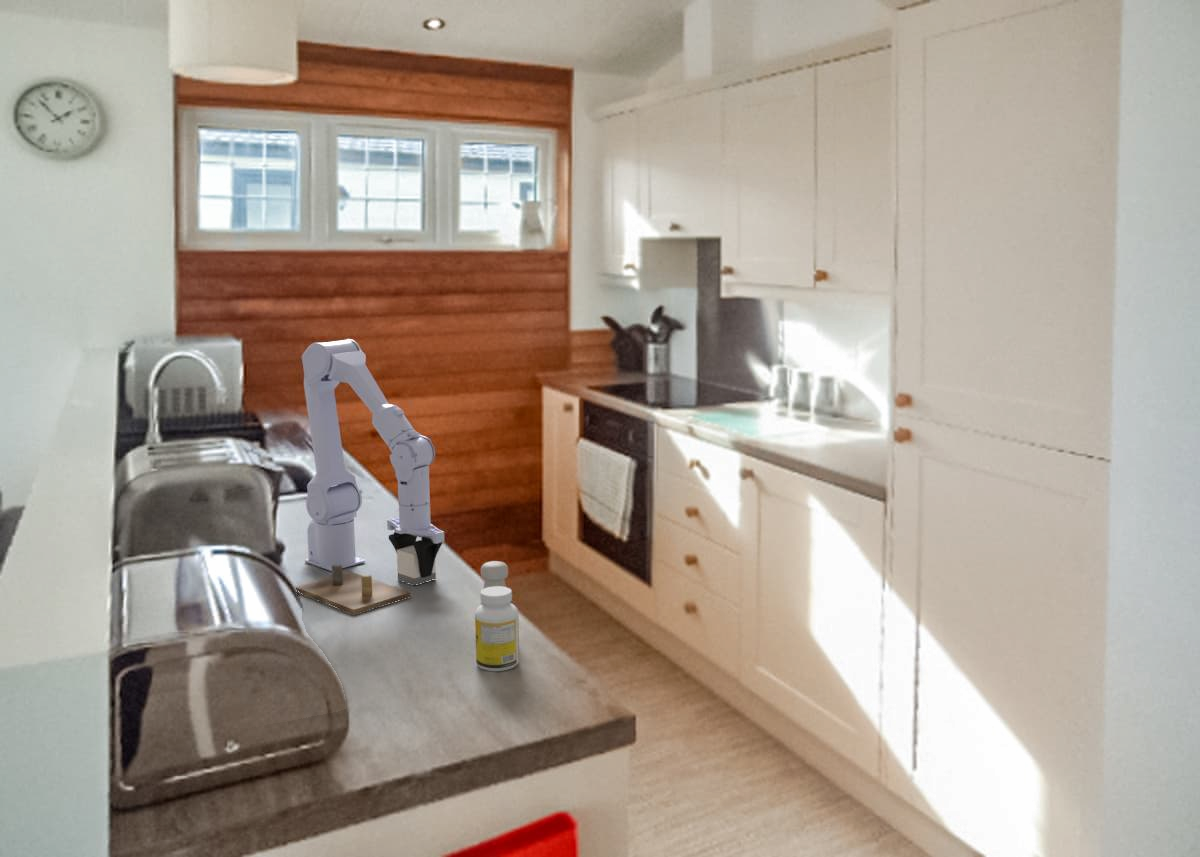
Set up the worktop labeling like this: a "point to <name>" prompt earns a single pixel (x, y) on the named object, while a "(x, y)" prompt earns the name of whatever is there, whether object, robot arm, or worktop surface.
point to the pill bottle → (497, 630)
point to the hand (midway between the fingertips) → (416, 572)
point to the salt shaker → (494, 574)
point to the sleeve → (411, 567)
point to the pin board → (352, 591)
